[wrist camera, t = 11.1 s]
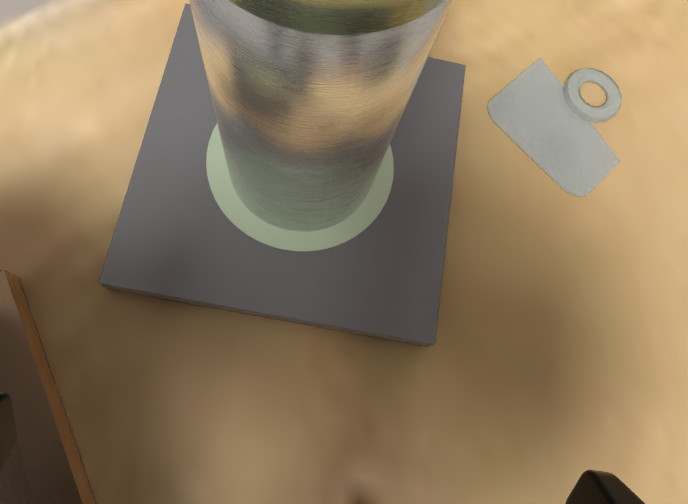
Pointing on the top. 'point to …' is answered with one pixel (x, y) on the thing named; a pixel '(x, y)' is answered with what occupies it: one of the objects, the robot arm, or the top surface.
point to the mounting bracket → (559, 124)
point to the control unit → (35, 414)
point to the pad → (279, 244)
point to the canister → (311, 96)
